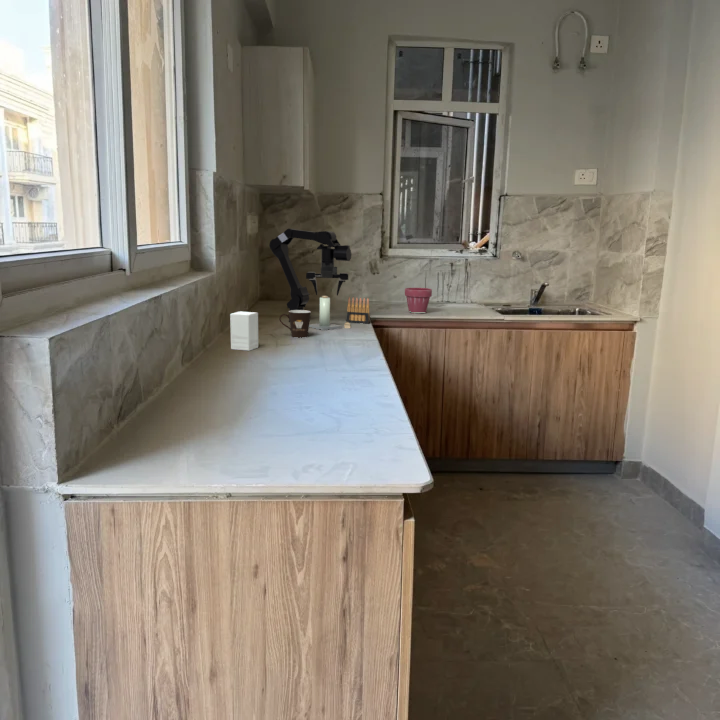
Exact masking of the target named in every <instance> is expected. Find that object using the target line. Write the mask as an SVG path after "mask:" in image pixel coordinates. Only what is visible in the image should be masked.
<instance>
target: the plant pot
mask: <svg viewBox="0 0 720 720" xmlns="http://www.w3.org/2000/svg"><path fill="white" fill-rule="evenodd" d="M432 290H433V289H432V288H429V287H405V289H404V296H405V298H406V303H407V304H406V305H407V308H408V312H409V311H411V312H426V313H427V309H428V306H429V302H430V299H431V297H432V296H433V293H432V292H433V291H432Z"/></svg>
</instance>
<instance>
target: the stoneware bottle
mask: <svg viewBox="0 0 720 720" xmlns="http://www.w3.org/2000/svg"><path fill="white" fill-rule="evenodd" d="M318 313H319V316H318V317H319V318H318V319H319V320H318V321H319V322H318V323H319V325H320V326H330V324H331V323H330V322H331V320H330V319H331V297H329V296H328V295H321V296H320V297H319V312H318Z"/></svg>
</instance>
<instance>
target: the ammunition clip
mask: <svg viewBox="0 0 720 720" xmlns="http://www.w3.org/2000/svg"><path fill="white" fill-rule="evenodd" d="M346 309H347V310H346V319H345V320H346V321H345V323H346V322H349V323H350V324H360V323H363V324H364V325H369V324H370V321H371V320H370V299H369V297H367V299H366V298H365V297H363V299H362V297H359V299H358V297H356V298H355V297H354V296H353V297H352V299H351V297H350V296H349V297H348V299H347V308H346Z"/></svg>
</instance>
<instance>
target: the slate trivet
mask: <svg viewBox="0 0 720 720" xmlns="http://www.w3.org/2000/svg"><path fill="white" fill-rule="evenodd" d="M309 327H312V328H311V329H314V328H316V329H315V330H319V329H321V330H320V331H329V330H328V329H331V330H338V329H337V328H340V329H343V325H340V324H335V323H334V324H333V323H330V326H320V325H319V322H318V323H309Z"/></svg>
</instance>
